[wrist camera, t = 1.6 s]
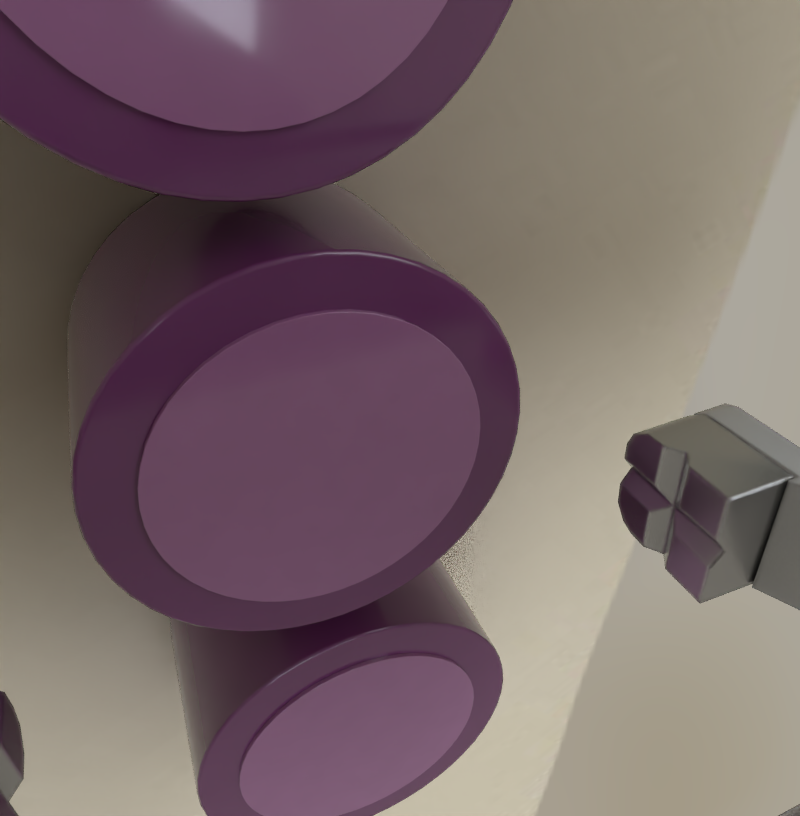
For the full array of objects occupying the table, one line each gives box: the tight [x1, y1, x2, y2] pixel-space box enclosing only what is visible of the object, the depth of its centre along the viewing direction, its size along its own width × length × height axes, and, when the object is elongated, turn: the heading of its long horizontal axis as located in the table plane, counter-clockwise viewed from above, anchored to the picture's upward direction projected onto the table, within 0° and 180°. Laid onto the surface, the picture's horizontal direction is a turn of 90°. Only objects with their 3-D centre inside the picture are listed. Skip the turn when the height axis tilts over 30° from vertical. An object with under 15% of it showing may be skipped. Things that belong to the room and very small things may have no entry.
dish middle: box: [67, 183, 520, 632], centre depth 11 cm, size 6×6×4 cm
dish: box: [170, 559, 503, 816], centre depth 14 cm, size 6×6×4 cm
